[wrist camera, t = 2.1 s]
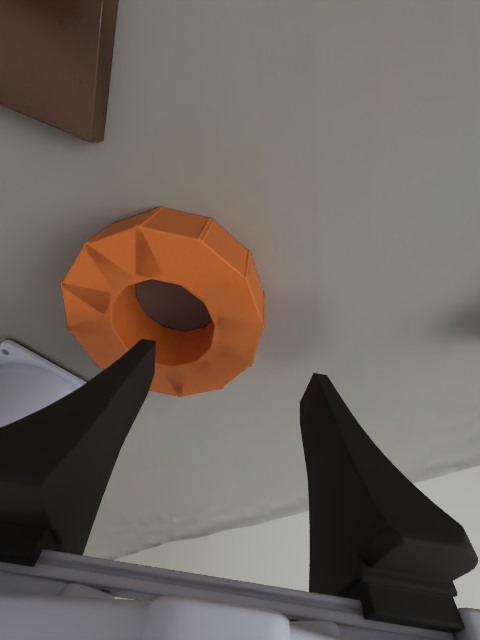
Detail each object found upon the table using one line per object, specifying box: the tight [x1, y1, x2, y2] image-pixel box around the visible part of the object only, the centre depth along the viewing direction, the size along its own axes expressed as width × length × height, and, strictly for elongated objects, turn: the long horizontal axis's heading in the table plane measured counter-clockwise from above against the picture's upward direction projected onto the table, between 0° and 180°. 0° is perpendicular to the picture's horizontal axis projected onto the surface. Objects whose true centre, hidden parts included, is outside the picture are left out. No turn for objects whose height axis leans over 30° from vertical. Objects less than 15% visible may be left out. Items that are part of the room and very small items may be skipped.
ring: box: [60, 207, 264, 397], centre depth 17 cm, size 10×10×3 cm
